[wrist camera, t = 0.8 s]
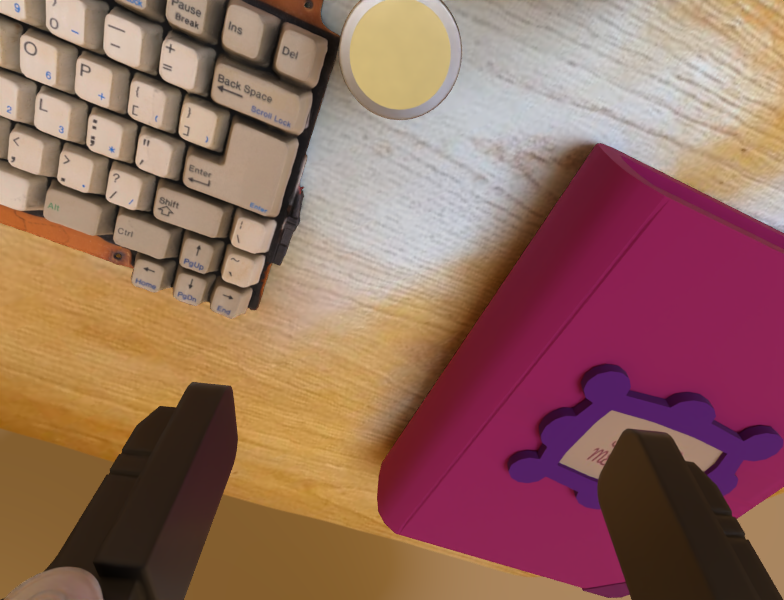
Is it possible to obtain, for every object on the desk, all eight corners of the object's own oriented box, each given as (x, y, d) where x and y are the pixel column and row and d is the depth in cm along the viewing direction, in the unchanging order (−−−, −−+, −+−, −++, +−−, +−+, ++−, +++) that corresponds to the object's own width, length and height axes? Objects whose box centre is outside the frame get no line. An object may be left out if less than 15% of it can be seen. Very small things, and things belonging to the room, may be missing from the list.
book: (380, 449, 41) (373, 537, 34) (587, 131, 26) (643, 183, 20) (594, 519, 45) (624, 609, 38) (878, 277, 30) (1002, 359, 24)
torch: (351, -14, 23) (327, -7, 17) (447, -27, 22) (459, -26, 16) (365, 88, 25) (349, 127, 19) (452, 77, 25) (464, 113, 19)
